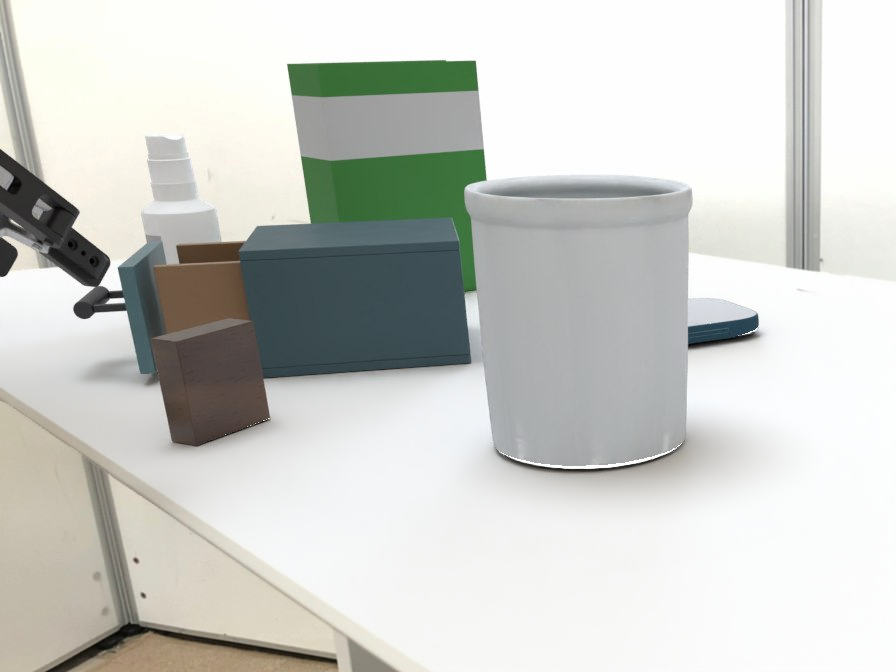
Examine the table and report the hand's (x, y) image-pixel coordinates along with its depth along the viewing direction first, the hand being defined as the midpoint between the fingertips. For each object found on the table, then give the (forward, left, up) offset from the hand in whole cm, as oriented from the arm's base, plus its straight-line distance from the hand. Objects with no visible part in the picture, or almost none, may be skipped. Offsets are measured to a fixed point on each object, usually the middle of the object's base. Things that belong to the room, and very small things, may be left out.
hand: (53, 269), depth 74 cm
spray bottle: (0, +48, -14) cm, 50 cm away
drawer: (+4, +30, -12) cm, 33 cm away
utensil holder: (+33, -2, -14) cm, 35 cm away
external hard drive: (+41, +27, -14) cm, 50 cm away
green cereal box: (+21, +57, -14) cm, 62 cm away
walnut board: (+7, +8, -13) cm, 17 cm away
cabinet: (+17, +30, -13) cm, 37 cm away
